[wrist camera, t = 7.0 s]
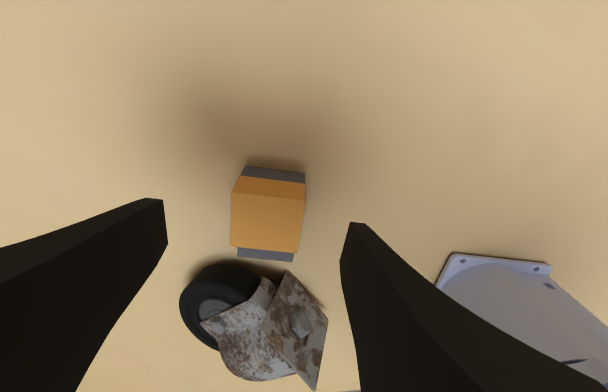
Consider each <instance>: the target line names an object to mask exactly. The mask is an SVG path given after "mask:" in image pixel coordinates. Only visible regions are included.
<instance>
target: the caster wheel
mask: <svg viewBox="0 0 608 392" xmlns="http://www.w3.org/2000/svg"><path fill="white" fill-rule="evenodd" d="M179 309H180V314H181V316H182V319H183V321H184V323H185V325H186V326H187V327H188V329H189V330H190V331H191V332H192V333H193V334H194V335H195V337H196V338H198V339H199V340H200V341H201V342H203V343H204V344H206V345H207V346H209V347H210V348H212V349H215V350H217V351H219V352H220V354H221V357H222V359H223V362H224V364H225V365H226V367H227V368H228V370H230V371H231V372H232V373H233V374H234V375H236V376H238V377H240V378H242V379H245V380H249V381H260V382H261V381H270V380H274V379H278V378H282V377H285V376H289V375H293V374H296V373H297V374H298V375H299V376H300V377H301V378H302V379H303V381H304V382H305V383H306V384H307V385H308V386H309V387H310V388H311V390H312V391H316V386H317V380H318V375H319V370H320V364H321V359H322V354H323V349H324V343H325V338H326V333H327V327H328V318H327V317H326V316H325V314H324V313H323V312H322V311H321V309H320V308H319V307H318V306H317V304H316V303H315V302H314V301H313V299H312V298H311V297H310V296H309V294H308V293H307V292H306V291H305V289H304V288H303V287H302V286H301V284H300V283H299V282H298V281H297V280H296V278H295V277H294V276H293V275H292V273H291V272H290V271H288V270H287V271H286V273H285V275H284V277H283V279H282V282H281V284H280V286H279V288H277V286H276V285H275V284H274V283H272V282H271V281H270V280H268V279H266V278H264V277H260V278H258V277H257V276H255V275H254V274H253V273H251V272H249V271H247V270H245V269H243V268H241V267H238V266H235V265H229V264H216V265H211V266H208V267H206V268H205V269H203V270H202V271H201V272H200V273H199V274H198V275H197V276H196V277H195V278H194V279H193V280H192V281H191V283H190V284H189V285H188V286H187V287H186V288H185V289H184V290H183V292H182V294H181V296H180V299H179Z"/></svg>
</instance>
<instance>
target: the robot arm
mask: <svg viewBox="0 0 608 392" xmlns="http://www.w3.org/2000/svg"><path fill="white" fill-rule="evenodd" d="M167 245H168V239H167V230H166V222H165V213H164V205H163V200H161V199H152V198H144V199H140V200H137V201H134V202H131V203H128V204H126V205H123V206H120V207H118V208H115V209H113V210H110V211H107V212H105V213H102V214H100V215H97V216H94V217H92V218H89V219H87V220H84V221H81V222H78V223H75V224H73V225H70V226H67V227H64V228H61V229H59V230H56V231H53V232H50V233H47V234H44V235H41V236H38V237H35V238H32V239H29V240H25V241H22V242H19V243H15V244H12V245H9V246H5V247H2V248H0V392H75V391H76V390H77V388H78V386H79V384H80V382H81V381H82V379H83V377H84V375H85V373H86V372H87V370H88V368H89V366H90V364H91V363H92V361H93V359H94V358H95V356H96V354H97V352H98V351H99V349H100V347H101V346H102V344H103V342H104V340H105V339H106V337H107V335H108V334H109V332H110V331H111V329H112V328H113V326H114V325H115V323H116V322H117V320H118V319H119V317H120V316H121V315H122V313H123V312H124V311H125V309H126V308H127V306H128V305H129V304H130V302H131V301H132V300H133V298H134V297H135V295H136V294H137V293H138V291H139V290H140V288H141V287H142V286H143V284H144V283H145V282H146V280H147V279H148V277H149V276H150V274H151V273H152V272H153V270H154V269H155V267H156V266H157V264H158V262H159V260H160V258H161V257H162V255H163V253H164V251H165V249H166V247H167ZM461 259H462V260H461ZM339 262H340V275H341V285H342V289H343V294H344V299H345V303H346V308H347V312H348V316H349V321H350V325H351V330H352V334H353V338H354V344H355V349H356V355H357V363H358V371H359V379H360V387H361V392H608V327H607V326H606V325H605V324H604V323H603V322H601V321H600V320H599V319H598V318H597V317H596V316H594V315H593V314H592V313H591V312H590V311H588V310H587V309H586V308H585V307H584V306H583V305H581V304H580V303H579V302H578V301H577V300H576V299H574V298H573V297H572V296H571V295H570V294H568V293H567V292H566V291H565V290H564V289H563V288H561V287H560V286H559V285H558V284H557V283H556V282H554V281H553V280H552V279H551V278H550V277H548V275H549V273H550V272H551V271H552V267H551V266H550V265H549V264H547V263H538V262H529V261H520V260H511V259H502V258H493V257H484V256H475V255H466V254H453V255H451V256H450V258H449V260H448V262H447V264H446V266H445V267H444V269H443V271H442V273H441V275H440V277H439V279H438V281H437V283H436V285H435V286H434V285H433V284H432V283H430V282H429V281H428V280H427V279H425V278H424V277H423V276H422V275H420V274H419V273H418V272H417V271H416V270H415V269H413V268H412V267H411V266H410V265H409V264H408V263H406V262H405V261H404V260H403V259H402V258H401V257H400V256H399V255H398V254H397V253H396V252H394V251H393V250H392V249H391V248H390V247H389V246H388V245H387V244H386V243H385V242H384V241H383V240H382V239H381V238H380V237H379V236H378V235H377V234H376V233H375V232H374V231H373V230H372V229H371V228H370V227H369V226H367V225H366V224H364V223H356V222H350V224H349V228H348V232H347V235H346V239H345V243H344V247H343V250H342V254H341V258H340V261H339Z"/></svg>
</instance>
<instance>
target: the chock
mask: <svg viewBox="0 0 608 392" xmlns="http://www.w3.org/2000/svg"><path fill="white" fill-rule="evenodd" d="M305 203H306V193H305V174H303V173H296V172H288V171H280V170H273V169H265V168H258V167H250V166H245V168H244V169H243V171H242V173H241V175H240V177H239V179H238V180H237V182H236V184H235V186H234V188H233V190H232V191H231V231H230V246H232V247H238V252H237V256H238V257H248V258H258V259H267V260H277V261H287V262H292V261H293V255H294V253H297V250H298V244H299V238H300V233H301V227H302V221H303V215H304V209H305Z"/></svg>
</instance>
